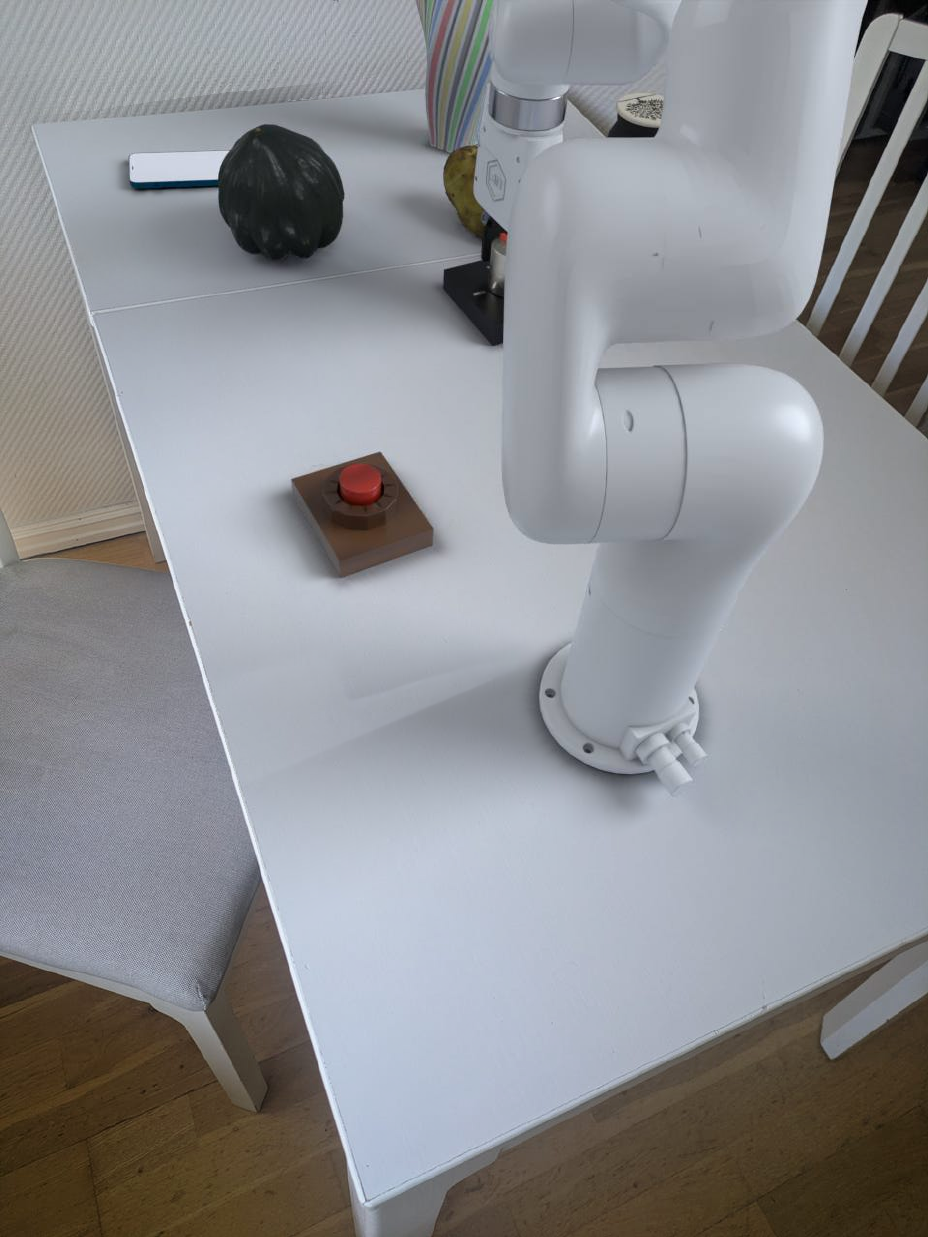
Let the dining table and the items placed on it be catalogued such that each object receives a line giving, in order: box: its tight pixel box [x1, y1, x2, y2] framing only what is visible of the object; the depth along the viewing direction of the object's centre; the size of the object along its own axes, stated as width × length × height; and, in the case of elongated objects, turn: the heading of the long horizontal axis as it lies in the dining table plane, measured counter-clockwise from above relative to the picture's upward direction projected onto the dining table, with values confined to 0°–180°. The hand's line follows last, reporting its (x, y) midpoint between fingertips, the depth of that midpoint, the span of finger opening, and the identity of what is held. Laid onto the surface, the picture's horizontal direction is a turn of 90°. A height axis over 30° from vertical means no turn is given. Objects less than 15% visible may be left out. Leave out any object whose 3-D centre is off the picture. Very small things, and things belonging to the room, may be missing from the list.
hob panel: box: [442, 259, 504, 347], centre depth 104 cm, size 12×10×3 cm
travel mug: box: [607, 92, 664, 138], centre depth 105 cm, size 8×8×18 cm
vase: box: [415, 0, 497, 154], centre depth 116 cm, size 14×14×30 cm
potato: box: [442, 145, 486, 239], centre depth 112 cm, size 8×13×8 cm, turn 15°
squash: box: [217, 123, 346, 261], centre depth 105 cm, size 14×15×15 cm
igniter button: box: [339, 464, 381, 506], centre depth 79 cm, size 4×4×2 cm
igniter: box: [290, 451, 435, 578], centre depth 81 cm, size 11×9×4 cm
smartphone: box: [128, 149, 231, 189], centre depth 118 cm, size 8×1×16 cm
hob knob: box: [488, 233, 507, 297], centre depth 101 cm, size 4×4×5 cm
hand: (508, 272), depth 101 cm, fingers open, 5 cm apart
